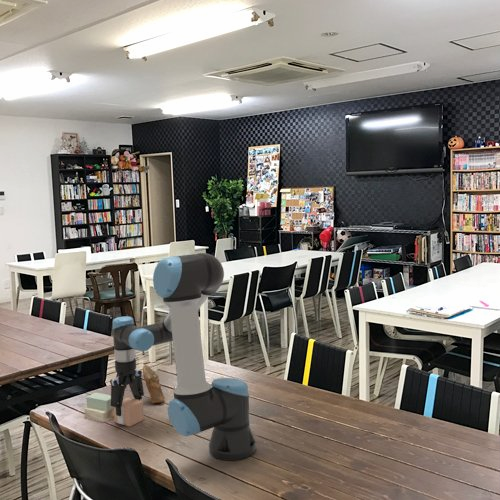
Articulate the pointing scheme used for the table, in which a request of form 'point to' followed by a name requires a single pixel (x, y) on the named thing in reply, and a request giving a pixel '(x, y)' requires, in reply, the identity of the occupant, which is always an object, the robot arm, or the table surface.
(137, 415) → the terracotta block
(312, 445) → the table surface
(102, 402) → the block top
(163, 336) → the robot arm
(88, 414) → the block base
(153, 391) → the figurine
